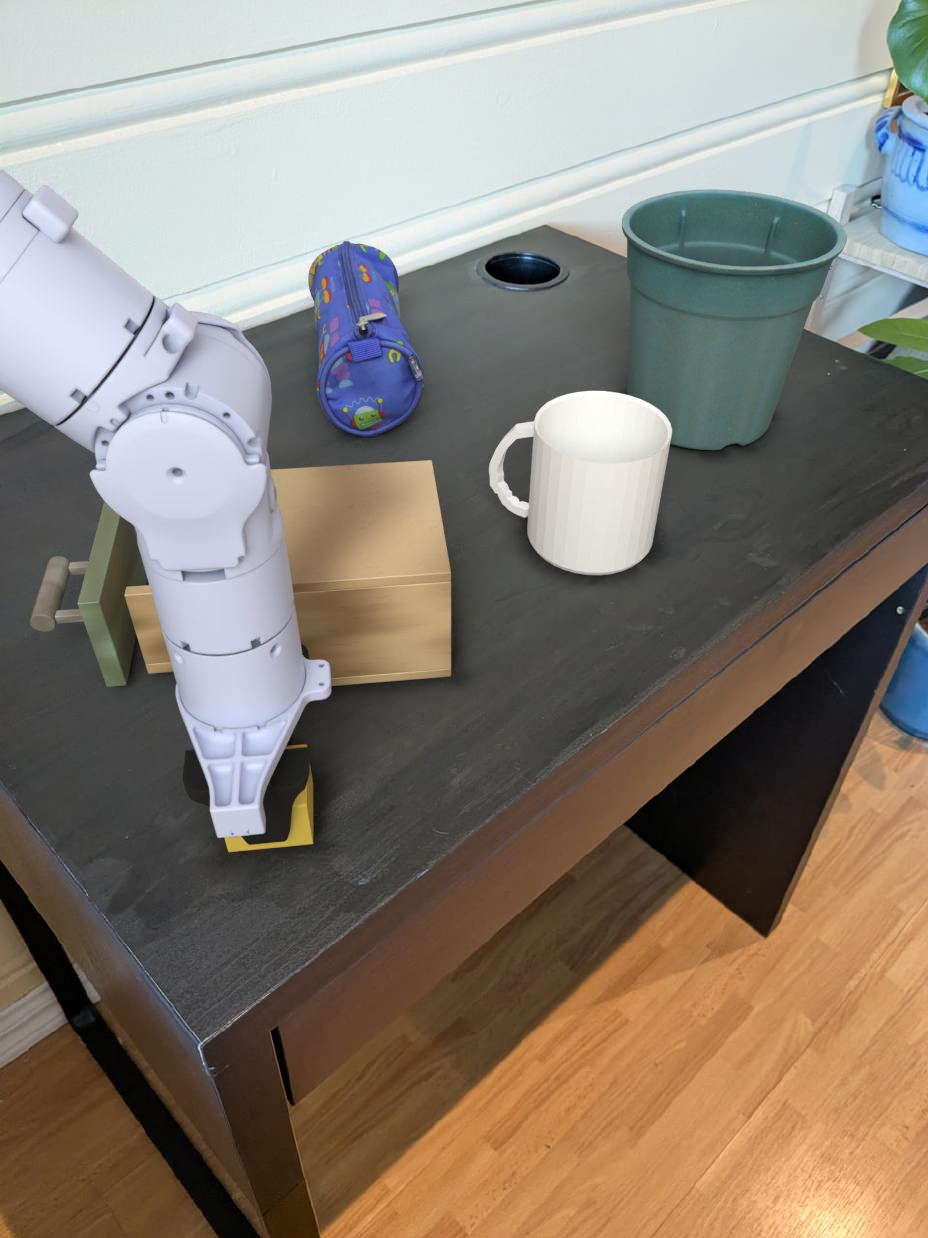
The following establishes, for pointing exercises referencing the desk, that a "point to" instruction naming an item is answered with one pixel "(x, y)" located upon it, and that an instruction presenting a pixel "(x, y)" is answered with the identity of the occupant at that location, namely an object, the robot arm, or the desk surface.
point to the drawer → (107, 601)
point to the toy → (299, 822)
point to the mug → (590, 480)
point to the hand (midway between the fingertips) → (268, 801)
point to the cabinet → (369, 569)
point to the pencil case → (362, 341)
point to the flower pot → (721, 306)
